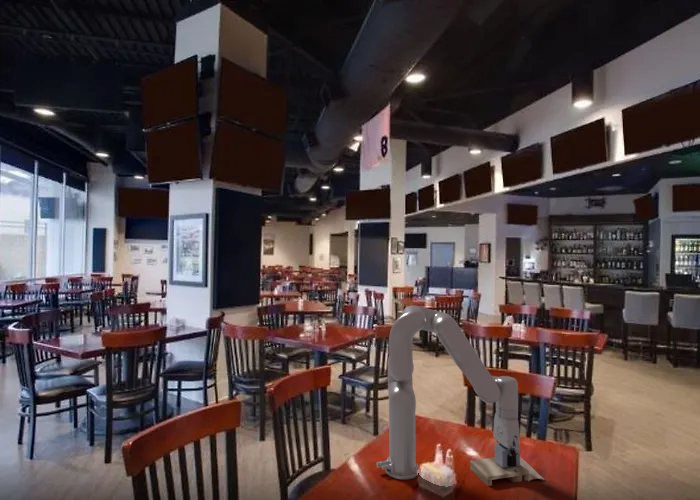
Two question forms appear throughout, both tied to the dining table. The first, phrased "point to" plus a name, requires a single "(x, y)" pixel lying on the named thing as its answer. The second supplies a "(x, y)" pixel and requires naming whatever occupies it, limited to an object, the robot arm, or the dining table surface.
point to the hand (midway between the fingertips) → (507, 461)
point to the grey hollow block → (504, 455)
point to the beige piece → (530, 471)
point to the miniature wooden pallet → (497, 471)
